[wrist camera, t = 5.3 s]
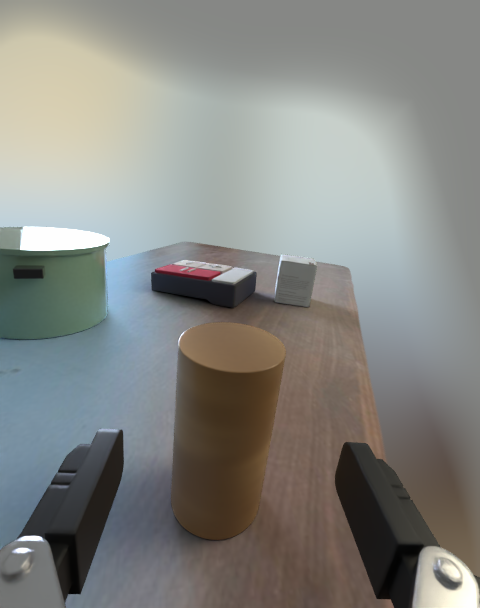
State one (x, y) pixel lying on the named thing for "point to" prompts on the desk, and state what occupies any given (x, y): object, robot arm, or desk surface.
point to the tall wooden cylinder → (223, 425)
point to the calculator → (205, 282)
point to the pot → (51, 282)
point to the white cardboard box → (295, 280)
